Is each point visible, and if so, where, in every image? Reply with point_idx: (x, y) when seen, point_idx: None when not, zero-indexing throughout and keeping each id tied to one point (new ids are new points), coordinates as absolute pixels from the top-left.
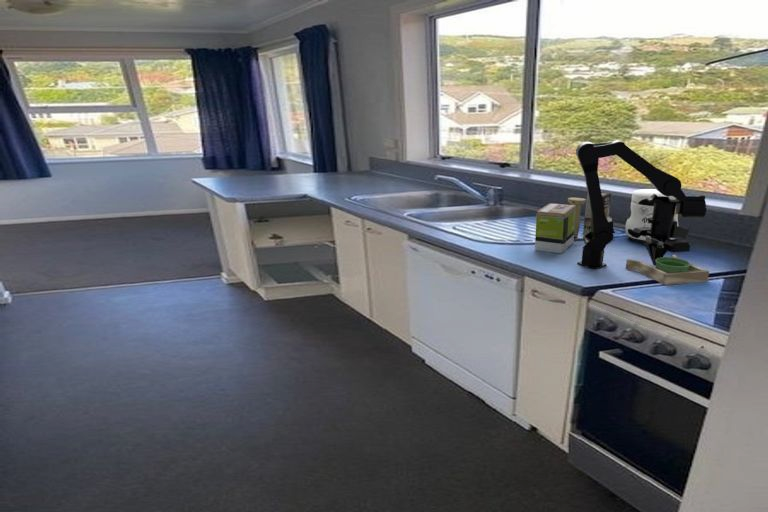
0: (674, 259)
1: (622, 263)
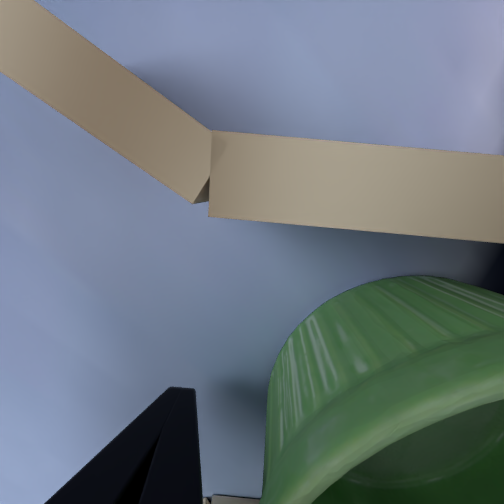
0: (390, 420)
1: (19, 492)
